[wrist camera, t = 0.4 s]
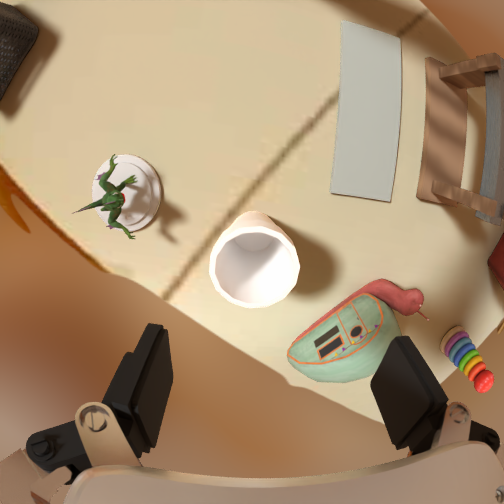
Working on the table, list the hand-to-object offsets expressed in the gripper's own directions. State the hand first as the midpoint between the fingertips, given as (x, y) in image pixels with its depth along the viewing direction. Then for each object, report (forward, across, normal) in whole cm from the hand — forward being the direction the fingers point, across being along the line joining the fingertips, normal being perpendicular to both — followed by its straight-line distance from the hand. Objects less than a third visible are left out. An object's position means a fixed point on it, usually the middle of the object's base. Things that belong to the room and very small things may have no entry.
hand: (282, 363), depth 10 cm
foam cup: (+31, 0, +4) cm, 31 cm away
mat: (+31, -15, -17) cm, 38 cm away
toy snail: (+31, -17, +18) cm, 40 cm away
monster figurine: (+31, +21, 0) cm, 37 cm away
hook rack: (+31, -30, -17) cm, 46 cm away
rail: (+19, -30, -17) cm, 39 cm away
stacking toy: (+31, -50, +26) cm, 64 cm away
